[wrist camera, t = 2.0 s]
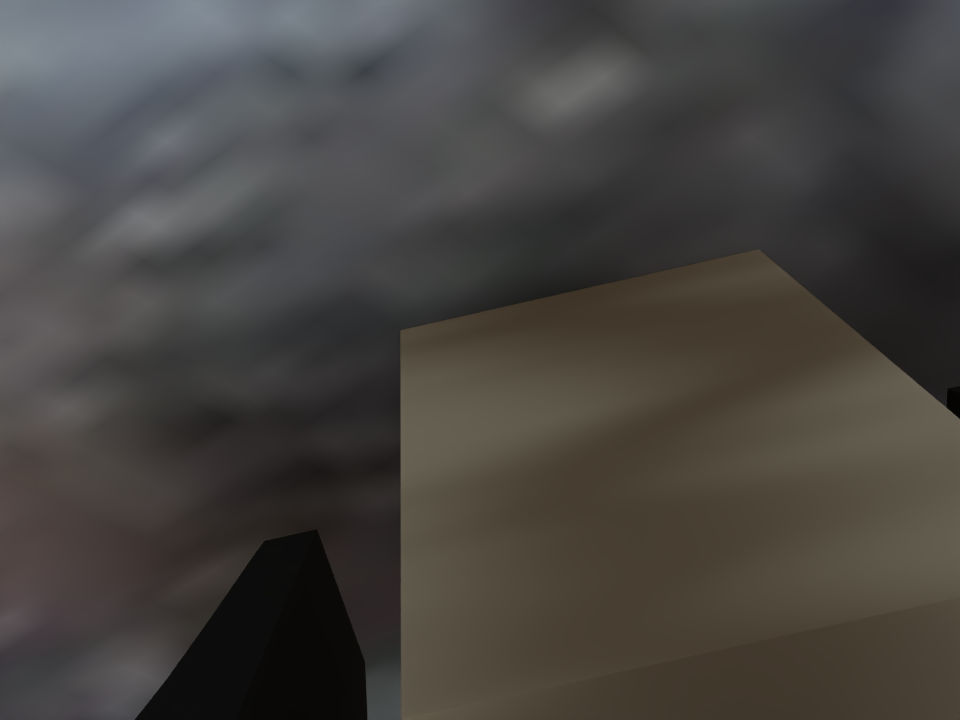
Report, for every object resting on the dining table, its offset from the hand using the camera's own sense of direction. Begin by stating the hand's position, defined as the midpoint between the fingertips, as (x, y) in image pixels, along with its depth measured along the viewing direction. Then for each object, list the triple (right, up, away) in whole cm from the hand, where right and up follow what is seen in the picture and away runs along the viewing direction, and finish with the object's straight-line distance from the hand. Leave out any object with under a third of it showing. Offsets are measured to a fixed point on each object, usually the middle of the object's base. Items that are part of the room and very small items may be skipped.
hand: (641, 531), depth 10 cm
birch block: (0, +1, +2) cm, 2 cm away
